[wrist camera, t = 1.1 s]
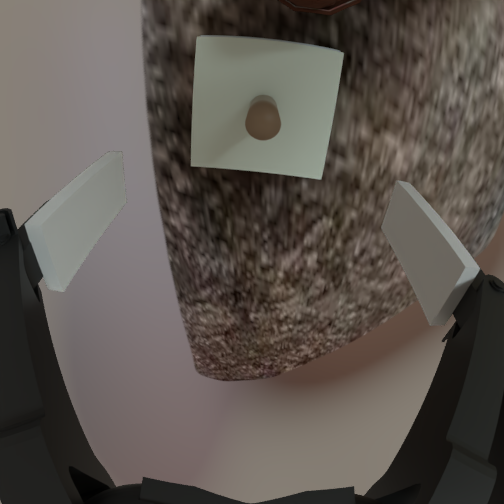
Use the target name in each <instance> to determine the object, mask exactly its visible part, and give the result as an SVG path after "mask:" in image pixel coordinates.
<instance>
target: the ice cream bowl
mask: <svg viewBox="0 0 504 504" xmlns="http://www.w3.org/2000/svg"><path fill="white" fill-rule="evenodd" d="M278 1H280V2H281V3H283V4H284V5H286V6H287V7H289V8H290V9H292V10H293V11H301V12H310V13H318V14H326V15H333V14H335V13H337V12H339V11H342V10H344V9H346V8H348V7H351V6H353V5H356V4H358V3H360V2H361V0H278Z"/></svg>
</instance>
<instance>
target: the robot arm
mask: <svg viewBox="0 0 504 504" xmlns="http://www.w3.org/2000/svg"><path fill="white" fill-rule="evenodd" d="M126 203H127V198H126V189H125V179H124V168H123V157H122V152H107V153H106V154H105V155H104V156H102V157H101V158H99V159H98V160H97V161H96V162H94V163H93V164H92V165H90V166H89V167H88V168H87V169H85V170H84V171H83V172H82V173H80V174H79V175H78V176H77V177H75V178H74V179H73V180H72V181H71V182H70V183H68V184H67V185H66V186H65V187H64V188H63V189H62V190H60V191H59V192H58V193H57V194H56V195H55V196H54V197H53V198H51V199H50V200H48V201H47V202H45V203H44V204H43V205H42V206H41V207H40V208H39V210H37V211H36V212H35V213H34V215H32V216H31V217H30V218H29V219H28V220H27V221H26V222H25V223H24V224H23V225H22V226H21V227H20V228H19V229H18V230H17V227H16V224H15V220H14V217H13V214H12V211H11V209H8V208H5V209H0V500H1V503H2V504H250V503H244V502H241V501H237V500H233V499H230V498H227V497H224V496H221V495H217V494H214V493H212V492H209V491H206V490H203V489H200V488H197V487H195V486H188V485H182V484H176V483H169V482H165V481H160V480H155V479H150V478H146V477H143V481H142V484H129V485H122V486H118V487H116V486H115V484H114V482H113V481H112V479H111V478H110V476H109V474H108V473H107V471H106V470H105V468H104V467H103V466H102V465H101V463H100V462H99V461H98V459H97V458H96V456H95V455H94V453H93V451H92V449H91V447H90V445H89V443H88V441H87V439H86V437H85V434H84V432H83V430H82V427H81V425H80V423H79V420H78V418H77V415H76V413H75V410H74V408H73V405H72V403H71V400H70V397H69V395H68V392H67V389H66V386H65V383H64V380H63V377H62V374H61V371H60V367H59V364H58V361H57V357H56V354H55V350H54V347H53V343H52V340H51V335H50V331H49V327H48V323H47V318H46V314H45V309H44V304H43V299H42V294H41V290H40V288H39V285H38V283H39V282H40V280H41V279H42V277H43V278H44V281H45V283H46V286H47V288H48V289H49V290H54V291H59V292H64V291H65V290H66V288H67V287H68V285H69V283H70V282H71V280H72V279H73V277H74V275H75V274H76V272H77V271H78V269H79V268H80V266H81V265H82V263H83V262H84V261H85V259H86V258H87V256H88V254H89V253H90V252H91V250H92V249H93V247H94V246H95V245H96V243H97V242H98V240H99V239H100V238H101V236H102V235H103V233H104V232H105V231H106V229H107V228H108V227H109V225H110V224H111V222H112V221H113V220H114V219H115V217H116V216H117V215H118V213H119V212H120V211H121V210H122V208H123V207H124V206H125V204H126ZM381 229H382V231H383V232H384V234H385V236H386V238H387V240H388V241H389V243H390V245H391V247H392V249H393V250H394V252H395V254H396V256H397V258H398V260H399V262H400V264H401V266H402V268H403V270H404V272H405V274H406V276H407V278H408V280H409V282H410V284H411V286H412V288H413V290H414V292H415V294H416V296H417V298H418V300H419V302H420V305H421V307H422V309H423V311H424V313H425V315H426V318H427V320H428V322H429V325H430V326H432V325H445V324H446V322H447V321H448V319H449V318H450V317H451V315H452V314H453V315H454V317H455V319H456V322H455V323H454V325H453V326H452V328H451V329H450V330H449V332H448V333H447V334H446V336H445V337H444V338H443V340H442V342H444V341H445V340H446V339H448V340H447V343H446V346H445V349H444V352H443V354H442V357H441V361H440V363H439V365H438V368H437V371H436V373H435V376H434V378H433V381H432V383H431V386H430V388H429V391H428V393H427V395H426V398H425V400H424V402H423V404H422V406H421V409H420V411H419V413H418V415H417V417H416V419H415V421H414V423H413V425H412V427H411V429H410V431H409V433H408V435H407V437H406V439H405V441H404V442H403V444H402V446H401V448H400V450H399V452H398V453H397V455H396V457H395V458H394V460H393V462H392V464H391V465H390V467H389V469H388V470H387V472H386V473H385V474H384V475H383V476H382V477H381V478H380V479H379V480H378V481H377V482H376V483H375V484H374V485H373V486H372V487H371V488H370V489H369V490H368V492H367V493H366V494H365V495H364V496H362V495H357V494H354V486H353V487H346V488H337V489H328V490H316V491H305V492H301V493H298V494H294V495H290V496H286V497H282V498H278V499H273V500H269V501H264V502H259V503H252V504H504V283H503V282H502V281H501V280H499V279H498V278H497V277H495V276H493V275H485V274H484V273H483V271H482V270H481V268H480V267H479V266H478V264H477V263H476V261H475V260H474V259H473V257H471V255H470V253H469V252H468V251H467V249H466V248H465V247H464V245H463V244H462V243H461V242H460V241H459V239H458V238H457V237H456V236H455V234H454V233H453V232H452V231H451V229H450V228H449V227H448V226H447V225H446V223H445V222H444V221H443V220H442V219H441V217H440V216H439V215H438V214H437V213H436V212H435V210H434V209H433V208H432V207H431V206H430V205H429V204H428V203H427V201H426V200H425V199H424V198H423V197H422V196H421V195H420V194H419V193H418V192H417V190H416V189H415V188H414V187H413V186H412V185H411V184H410V183H407V182H403V181H398V180H397V181H396V184H395V187H394V190H393V194H392V197H391V200H390V203H389V206H388V209H387V212H386V215H385V218H384V221H383V224H382V226H381Z"/></svg>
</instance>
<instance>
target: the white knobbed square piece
mask: <svg viewBox="0 0 504 504" xmlns="http://www.w3.org/2000/svg"><path fill="white" fill-rule="evenodd" d="M343 56H344V53H342V52H338V51H333V50H329V49H324V48H318V47H313V46H307V45H301V44H295V43H288V42H280V41H272V40H262V39H250V38H235V37H197V41H196V53H195V68H194V84H193V105H192V133H191V166H195V167H210V168H223V169H235V170H245V171H255V172H265V173H274V174H282V175H291V176H298V177H306V178H313V179H320V180H321V178H322V173H323V168H324V163H325V159H326V154H327V148H328V143H329V138H330V133H331V128H332V122H333V117H334V111H335V105H336V100H337V94H338V88H339V82H340V75H341V69H342V63H343Z"/></svg>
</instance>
